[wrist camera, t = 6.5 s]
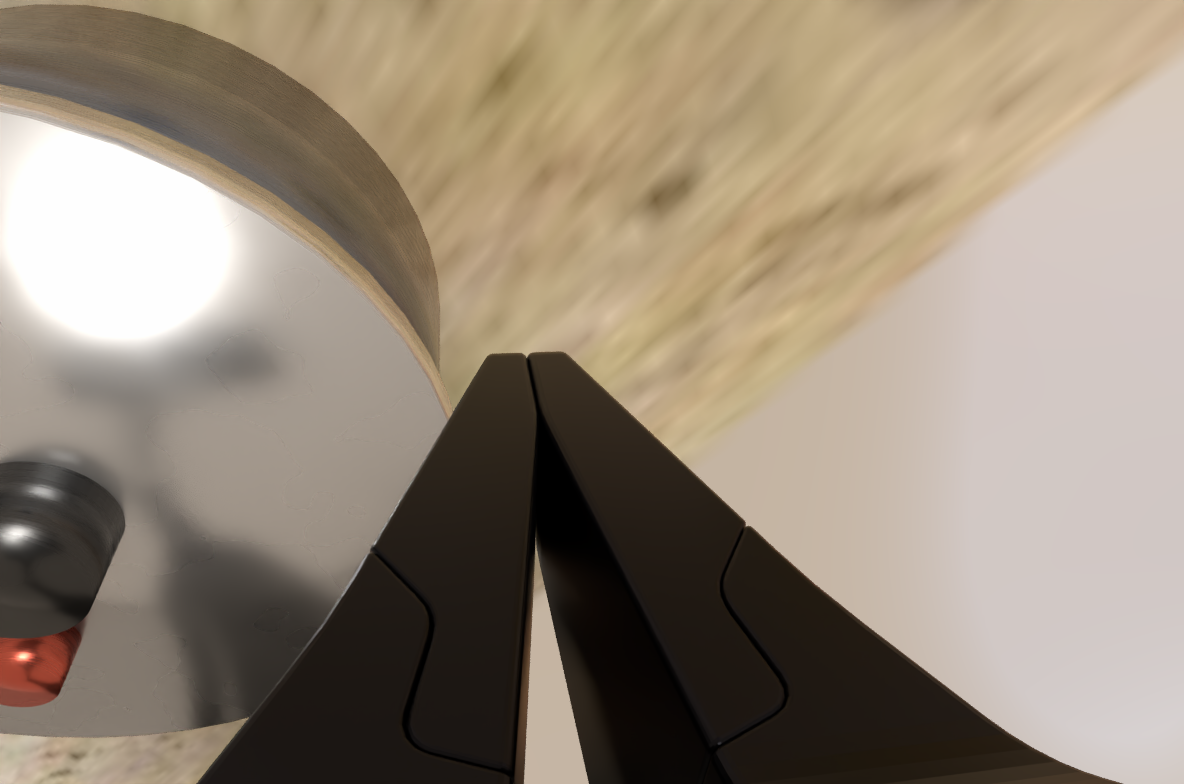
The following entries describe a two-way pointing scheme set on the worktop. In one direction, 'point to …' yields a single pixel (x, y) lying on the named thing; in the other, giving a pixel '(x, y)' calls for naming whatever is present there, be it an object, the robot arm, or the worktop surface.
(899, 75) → the worktop surface
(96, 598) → the cooker lid
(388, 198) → the cooker pot
